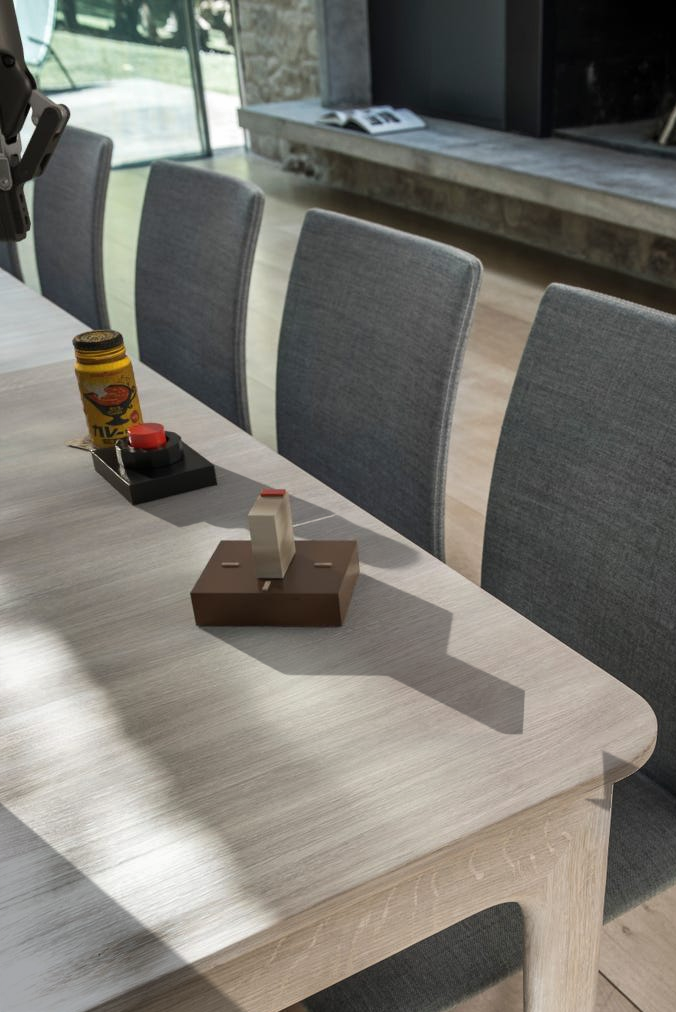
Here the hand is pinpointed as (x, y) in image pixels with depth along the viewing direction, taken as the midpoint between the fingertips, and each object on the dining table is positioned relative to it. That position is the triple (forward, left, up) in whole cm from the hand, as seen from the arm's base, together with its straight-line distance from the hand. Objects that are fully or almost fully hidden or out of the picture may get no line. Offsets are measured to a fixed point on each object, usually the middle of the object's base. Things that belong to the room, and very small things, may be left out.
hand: (13, 239), depth 91 cm
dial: (+20, -9, -24) cm, 32 cm away
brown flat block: (+20, -9, -27) cm, 35 cm away
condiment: (-7, +29, -27) cm, 40 cm away
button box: (+1, +18, -27) cm, 32 cm away
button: (+1, +18, -23) cm, 30 cm away
